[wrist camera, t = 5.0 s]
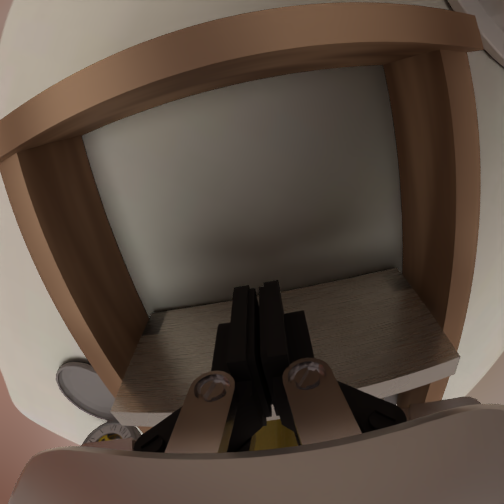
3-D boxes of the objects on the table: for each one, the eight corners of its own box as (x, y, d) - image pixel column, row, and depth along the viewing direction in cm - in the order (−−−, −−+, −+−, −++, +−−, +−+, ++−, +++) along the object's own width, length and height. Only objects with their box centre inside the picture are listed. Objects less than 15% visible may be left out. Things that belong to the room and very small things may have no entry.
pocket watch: (67, 343, 19) (5, 452, 10) (168, 398, 21) (140, 519, 11) (54, 391, 21) (12, 477, 12) (134, 435, 23) (110, 526, 14)
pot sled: (396, 267, 15) (460, 356, 9) (382, 420, 21) (402, 489, 15) (151, 313, 17) (110, 411, 10) (224, 446, 23) (219, 516, 17)
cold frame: (399, 41, 11) (474, 15, 5) (405, 386, 20) (430, 448, 15) (58, 122, 12) (-26, 140, 7) (191, 422, 22) (180, 486, 16)
